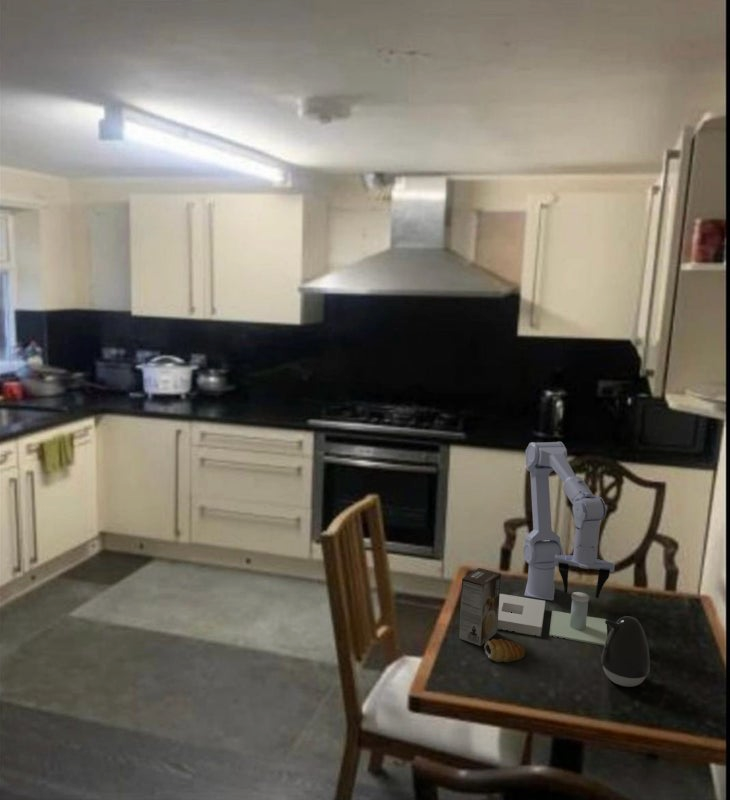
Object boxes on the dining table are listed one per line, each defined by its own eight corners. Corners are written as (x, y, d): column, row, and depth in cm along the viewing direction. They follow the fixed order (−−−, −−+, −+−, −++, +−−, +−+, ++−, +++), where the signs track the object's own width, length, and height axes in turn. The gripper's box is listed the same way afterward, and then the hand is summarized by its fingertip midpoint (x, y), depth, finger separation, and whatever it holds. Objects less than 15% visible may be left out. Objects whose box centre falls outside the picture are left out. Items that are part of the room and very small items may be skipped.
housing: (486, 599, 198) (486, 591, 198) (544, 609, 194) (545, 600, 193) (477, 625, 183) (478, 616, 183) (540, 636, 179) (541, 627, 178)
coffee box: (475, 625, 184) (479, 566, 181) (497, 633, 180) (502, 573, 177) (458, 638, 176) (461, 577, 174) (481, 647, 172) (485, 585, 170)
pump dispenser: (593, 667, 165) (599, 606, 163) (638, 669, 165) (644, 608, 162) (606, 692, 155) (613, 627, 153) (654, 694, 155) (661, 629, 152)
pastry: (518, 647, 173) (519, 633, 173) (529, 662, 167) (530, 647, 166) (481, 650, 172) (482, 635, 171) (491, 665, 165) (492, 650, 164)
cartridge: (569, 621, 186) (571, 591, 185) (586, 624, 185) (589, 593, 184) (568, 629, 182) (571, 597, 181) (586, 631, 181) (589, 600, 179)
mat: (552, 612, 192) (552, 610, 192) (606, 621, 188) (606, 619, 188) (549, 636, 179) (549, 634, 179) (607, 646, 175) (607, 644, 175)
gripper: (555, 545, 178) (551, 595, 180) (616, 553, 174) (611, 605, 176) (557, 535, 185) (552, 584, 187) (615, 543, 181) (610, 593, 183)
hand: (581, 594), depth 182 cm, fingers open, 7 cm apart
